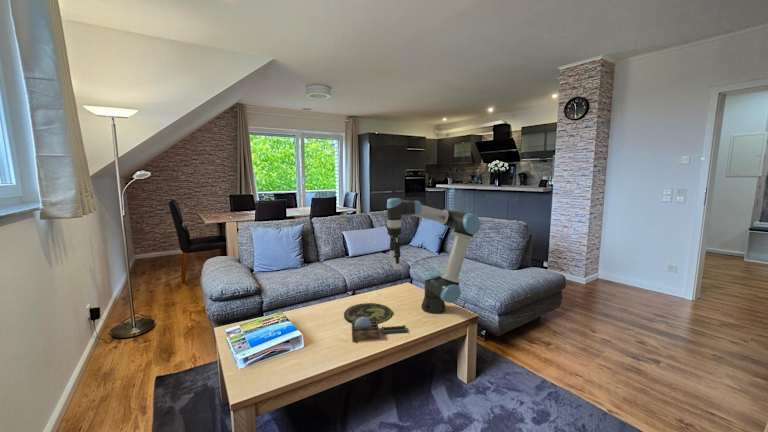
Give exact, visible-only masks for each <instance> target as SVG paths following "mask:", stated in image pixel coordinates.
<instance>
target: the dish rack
mask: <svg viewBox="0 0 768 432" xmlns="http://www.w3.org/2000/svg"><path fill="white" fill-rule="evenodd" d="M371 325H372V327H369V328H355V322H352V324H351V339H352V343H353V342H354V343H356V342H357V343H358V342H359V341H362V340H363V341H364V340H365V341H366V340H376V339H377V340H379V339H380V328H379V324H378V323H377V321H371Z"/></svg>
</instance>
